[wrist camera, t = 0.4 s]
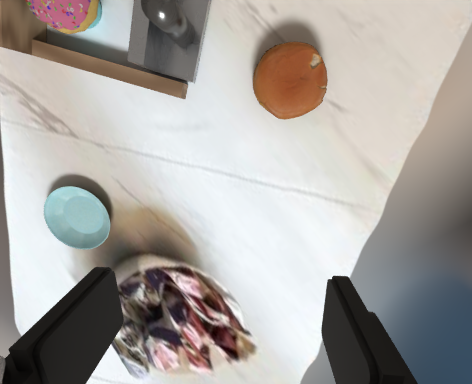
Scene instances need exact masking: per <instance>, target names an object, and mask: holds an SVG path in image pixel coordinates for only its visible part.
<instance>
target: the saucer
mask: <svg viewBox="0 0 472 384" xmlns="http://www.w3.org/2000/svg"><path fill="white" fill-rule="evenodd" d="M44 217H45V221H46V224H47V226H48V228H49V229H50V231H51V232H52V233H53V235H54V236H55V237H56V238H57V239H58V240H60V241H61V242H63V243H64V244H66V245H68V246H70V247H73V248H77V249H92V248H95V247H97V246H99V245H101V244H102V243H103V242H104V241H105V240H106V238H107V237H108V234H109V231H110V219H109V215H108V212H107V210H106V208H105V207H104V205H103V204H102V202H101V201H100V200H99V199H98V198H97V197H96V196H94V195H93V194H92V193H90V192H88V191H86V190H84V189H82V188H79V187H74V186H64V187H61V188H58V189H56V190H54V191H53V192H52V193H50V194H49V196H48V197H47V199H46V201H45V205H44Z"/></svg>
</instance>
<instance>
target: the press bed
mask: <svg viewBox="0 0 472 384" xmlns="http://www.w3.org/2000/svg"><path fill="white" fill-rule="evenodd" d="M29 8H31V7H30V6H29V5H28V4H27V2H26V0H0V47H4V48H8V49H11V50H15V51H19V52H22V53H26V54H30V55H33V56H37V57H40V58H44V59H47V60H51V61H54V62H58V63H61V64H64V65H68V66H71V67H75V68H78V69H82V70H85V71H89V72H92V73H96V74H99V75H102V76H106V77H109V78H113V79H116V80H120V81H123V82H127V83H130V84H134V85H137V86H140V87H144V88H147V89H151V90H154V91H158V92H161V93H165V94H168V95H172V96H175V97H179V98H182V99H185V98H186V93H187V88H188V85H187V84H184V83H181V82H178V81H175V80H171V79H168V78H164V77H161V76H157V75H154V74H150V73H147V72H143V71H140V70H137V69H133V68H130V67H126V66H123V65H119V64H116V63H112V62H109V61H106V60H102V59H99V58H95V57H92V56H88V55H85V54H81V53H78V52H75V51H71V50H68V49H64V48H61V47H57V46H54V45H50V44H47V43H46V40H47V23H45V22H43V21H41V20H40V19H38V18H37V16H36V15H35V14H33V11H31V10H30V9H29Z"/></svg>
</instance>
